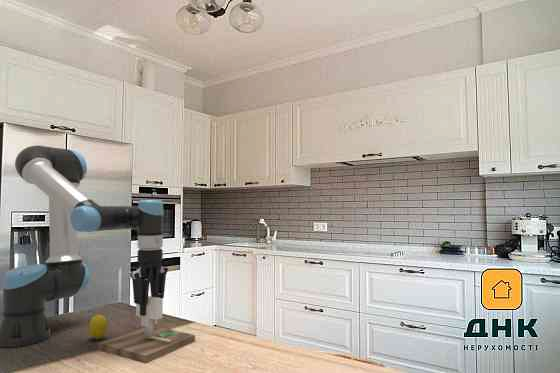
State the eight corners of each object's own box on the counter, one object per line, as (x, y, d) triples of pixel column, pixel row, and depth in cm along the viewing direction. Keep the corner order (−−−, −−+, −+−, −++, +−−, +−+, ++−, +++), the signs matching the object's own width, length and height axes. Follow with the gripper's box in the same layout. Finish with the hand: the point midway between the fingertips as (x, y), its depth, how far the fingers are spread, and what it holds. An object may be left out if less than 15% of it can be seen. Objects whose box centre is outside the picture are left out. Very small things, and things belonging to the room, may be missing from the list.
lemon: (99, 342, 123) (100, 317, 124) (84, 341, 124) (85, 316, 125) (110, 337, 129) (111, 312, 129) (96, 335, 130) (96, 311, 130)
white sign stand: (135, 336, 122) (136, 296, 123) (141, 334, 124) (142, 295, 125) (166, 344, 115) (167, 301, 116) (172, 341, 117) (173, 299, 118)
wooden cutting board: (99, 350, 117) (99, 342, 117) (150, 331, 134) (150, 325, 134) (145, 363, 107) (146, 355, 107) (195, 341, 125) (195, 334, 125)
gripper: (138, 251, 114) (137, 333, 112) (176, 247, 127) (175, 319, 126) (121, 250, 117) (119, 329, 116) (160, 245, 131) (159, 316, 130)
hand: (149, 324), depth 121 cm, fingers closed on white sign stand, 2 cm apart
